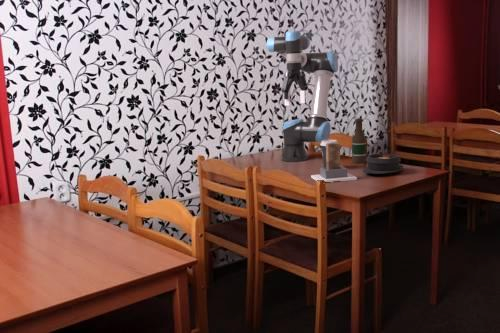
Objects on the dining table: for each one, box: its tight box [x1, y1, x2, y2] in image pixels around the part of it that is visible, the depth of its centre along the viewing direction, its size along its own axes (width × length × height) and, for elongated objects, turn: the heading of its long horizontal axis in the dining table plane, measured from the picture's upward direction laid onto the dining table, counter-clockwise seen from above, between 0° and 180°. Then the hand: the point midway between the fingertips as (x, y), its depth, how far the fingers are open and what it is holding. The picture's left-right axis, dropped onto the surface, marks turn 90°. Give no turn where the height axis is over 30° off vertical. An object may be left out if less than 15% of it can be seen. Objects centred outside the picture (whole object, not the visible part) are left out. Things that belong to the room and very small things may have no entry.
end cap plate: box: [310, 165, 358, 183], centre depth 262 cm, size 18×14×5 cm
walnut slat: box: [326, 142, 341, 170], centre depth 261 cm, size 6×3×16 cm, turn 102°
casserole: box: [362, 152, 405, 175], centre depth 271 cm, size 25×19×8 cm
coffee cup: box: [319, 139, 339, 167], centre depth 284 cm, size 10×10×15 cm
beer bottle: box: [351, 118, 367, 165], centre depth 297 cm, size 8×8×24 cm
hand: (295, 104), depth 279 cm, fingers open, 13 cm apart
